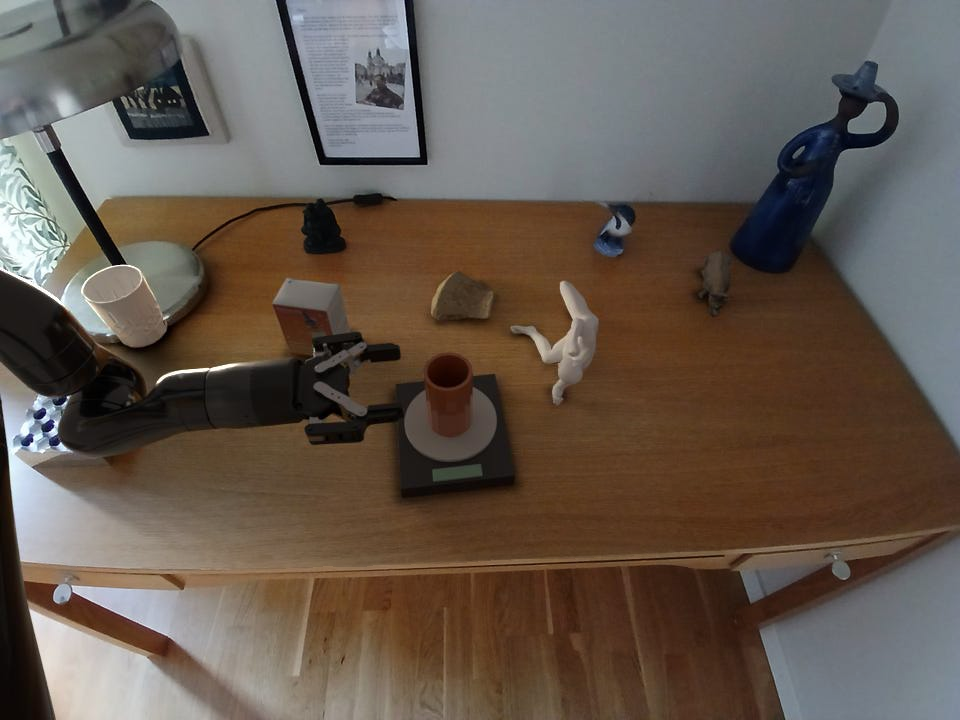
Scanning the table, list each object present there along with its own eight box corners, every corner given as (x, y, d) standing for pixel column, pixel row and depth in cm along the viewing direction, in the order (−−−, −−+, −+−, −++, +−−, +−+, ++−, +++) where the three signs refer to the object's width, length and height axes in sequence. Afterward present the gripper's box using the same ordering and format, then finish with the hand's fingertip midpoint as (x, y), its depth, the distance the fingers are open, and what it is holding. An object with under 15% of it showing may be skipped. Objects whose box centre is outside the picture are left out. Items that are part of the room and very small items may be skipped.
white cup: (109, 329, 86) (74, 280, 78) (160, 306, 89) (131, 257, 82) (127, 359, 82) (91, 311, 74) (179, 334, 85) (151, 286, 78)
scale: (514, 484, 70) (515, 473, 68) (402, 498, 69) (400, 486, 66) (494, 384, 80) (495, 370, 78) (396, 394, 79) (394, 381, 76)
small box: (289, 354, 83) (269, 303, 75) (302, 327, 87) (285, 276, 79) (340, 361, 82) (326, 311, 74) (352, 333, 86) (339, 283, 78)
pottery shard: (430, 326, 89) (488, 329, 85) (422, 305, 86) (483, 306, 82) (452, 285, 96) (507, 286, 92) (445, 264, 93) (502, 264, 90)
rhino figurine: (695, 325, 88) (708, 297, 83) (697, 269, 96) (708, 241, 92) (722, 330, 87) (736, 303, 83) (721, 273, 96) (734, 246, 91)
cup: (475, 434, 71) (475, 387, 63) (430, 439, 70) (425, 393, 63) (469, 398, 75) (469, 350, 67) (427, 403, 74) (421, 354, 66)
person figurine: (518, 267, 80) (577, 339, 67) (593, 265, 85) (662, 332, 72) (502, 341, 88) (551, 418, 75) (571, 335, 92) (630, 407, 79)
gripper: (238, 428, 56) (401, 412, 57) (255, 325, 65) (396, 313, 66) (260, 465, 61) (407, 449, 63) (273, 366, 70) (402, 354, 72)
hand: (401, 379), depth 65 cm, fingers open, 8 cm apart
